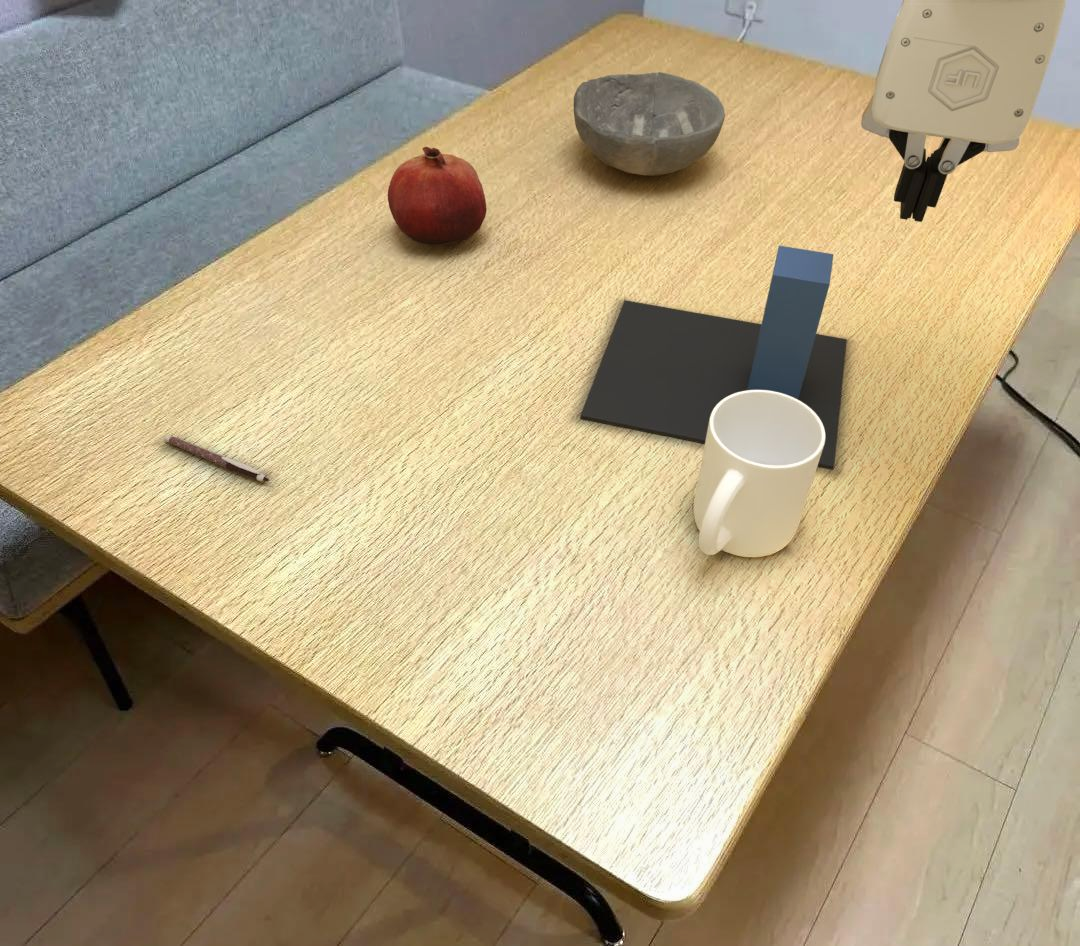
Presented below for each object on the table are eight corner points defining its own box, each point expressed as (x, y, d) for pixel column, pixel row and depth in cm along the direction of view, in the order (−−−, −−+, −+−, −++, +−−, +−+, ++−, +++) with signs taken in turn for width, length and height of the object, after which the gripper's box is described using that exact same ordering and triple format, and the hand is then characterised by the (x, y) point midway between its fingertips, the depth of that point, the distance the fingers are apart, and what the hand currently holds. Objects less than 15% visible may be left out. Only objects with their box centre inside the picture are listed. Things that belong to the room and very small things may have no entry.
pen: (272, 480, 78) (269, 472, 77) (266, 487, 77) (263, 478, 77) (167, 436, 81) (164, 428, 81) (160, 442, 81) (157, 433, 80)
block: (800, 374, 88) (833, 253, 78) (796, 405, 85) (829, 284, 75) (752, 365, 88) (778, 245, 79) (745, 396, 85) (773, 274, 76)
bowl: (725, 202, 110) (736, 136, 104) (573, 200, 110) (576, 134, 104) (706, 129, 122) (715, 67, 116) (570, 128, 122) (572, 66, 116)
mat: (845, 342, 92) (846, 338, 91) (833, 469, 80) (834, 466, 79) (624, 303, 96) (624, 299, 95) (580, 418, 84) (580, 415, 83)
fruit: (374, 249, 102) (363, 162, 95) (419, 205, 108) (412, 121, 101) (462, 272, 99) (457, 185, 92) (503, 226, 105) (502, 141, 98)
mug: (742, 611, 69) (767, 518, 62) (646, 557, 73) (660, 463, 65) (814, 513, 76) (845, 419, 69) (723, 469, 79) (744, 374, 72)
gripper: (874, -46, 57) (806, 220, 71) (1139, -17, 55) (1017, 255, 68) (878, -84, 62) (815, 172, 76) (1121, -59, 60) (1011, 202, 73)
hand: (911, 210), depth 72 cm, fingers closed
